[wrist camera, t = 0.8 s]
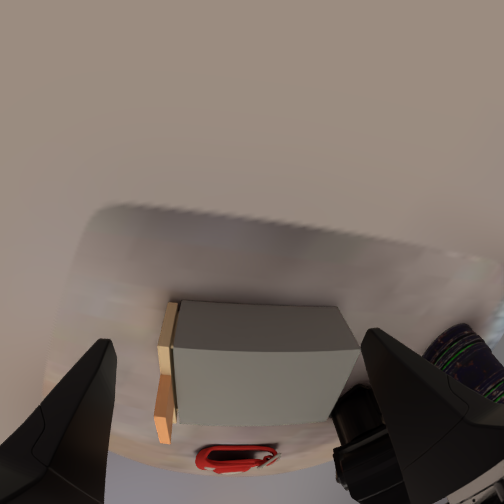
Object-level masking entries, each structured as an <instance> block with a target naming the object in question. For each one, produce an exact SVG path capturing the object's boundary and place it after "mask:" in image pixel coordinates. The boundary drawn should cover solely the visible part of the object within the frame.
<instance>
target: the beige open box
mask: <svg viewBox="0 0 504 504" xmlns="http://www.w3.org/2000/svg"><path fill="white" fill-rule="evenodd" d="M178 317H179V312H178V303H171V302H168V305H167V309H166V313H165V317H164V321H163V325H162V329H161V333H160V337H159V342H158V356H159V365H160V373H161V375H160V381H159V387H158V393H157V399H156V405H155V411H154V420H155V424H156V428H157V432H158V436H159V440H160V443H164V444H171V433H172V423H176V422H177V411H178V404H177V394H176V382H175V369H174V354H173V345H174V339H175V333H176V328H177V322H178Z"/></svg>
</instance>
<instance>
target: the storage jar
mask: <svg viewBox="0 0 504 504" xmlns="http://www.w3.org/2000/svg"><path fill="white" fill-rule="evenodd" d="M423 358H424V359H426V360H427V361H429V362H430V363H432V364H433V365H435V366H436V367H438V368H439V369H440V370H442V371H443V372H445V373H446V374H448V375H449V376H451V377H452V378H454V379H455V380H457V381H458V382H460V383H461V384H463V385H465V386H466V387H468V388H470V389H472V390H473V391H475V392H477V393H479V394H480V395H482V396H484V397H486V398H488V399H489V400H491V401H493V402H496V403H499V404H504V367H503V366H502V364H501V363H500V362H499V361H498V360H497V359H496V358H495V356H494V355H493V354H492V351H491V349H490V348H489V347H488V346H487V345H486V344H485V341H484V340H483V339H482V338H481V337H480V336H479V335H477V334H476V333H475V332H474V331H472V329H471V328H470V326H469V325H467V324H458V325H455V326H453V327H451V328H450V329H448V330H446V331H445V332H444V333H442V334H441V335H440V336H439V337H438V338H437V339H436V340H435V341H434V342H433V343H432V344H431V345H430V346H429V348H428V349H427V350H426V352H425V353H424V355H423Z"/></svg>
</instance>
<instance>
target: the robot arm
mask: <svg viewBox="0 0 504 504" xmlns="http://www.w3.org/2000/svg"><path fill="white" fill-rule="evenodd" d="M361 352H362V355H363V359H364V362H365V366H366V370H367V373H368V377H369V380H370V384H371V387H372V388H368V387H366V386H363V385H361V384H358V385H356V386H355V387H354V388H352V389H351V390H350V391H349V392H348V393H346V394H345V395H344V396H343V397H341V398H340V399H339V400H338V401H336V403H335V405H334V407H333V409H332V411H331V413H330V415H329V416H328V417H330V418H332V420H333V423H334V426H335V428H336V431H337V434H338V437H339V440H340V443H341V446H340V447H336V448H334V449H333V452H334V454H333V458H334V462H335V468H336V481H337V482H338V483H340V484H342V486H343V487H344V489H345V490H349V492H350V495H351V497H352V498H353V499H354V500H356V501H357V502H359V503H360V504H433V503H435V502H437V501H439V500H441V499H442V498H445V497H447V499H448V501H449V502H447V503H446V504H504V404H499V403H496V402H493V401H491V400H489V399H488V398H486V397H484V396H482V395H480V394H479V393H477V392H475V391H473V390H472V389H470V388H468V387H466V386H465V385H463V384H461V383H460V382H458V381H457V380H455V379H454V378H452V377H451V376H449V375H448V374H446V373H445V372H443V371H442V370H440V369H439V368H438V367H436V366H435V365H433V364H432V363H430V362H429V361H427V360H426V359H424V358H423V357H421V356H420V355H418V354H417V353H415V352H414V351H412V350H411V349H409V348H408V347H406V346H405V345H403V344H402V343H400V342H399V341H398V340H396V339H395V338H393V337H392V336H390V335H389V334H387V333H386V332H384V331H383V330H381V329H380V328H371V329H368V330H367V332H366V334H365V337H364V339H363V341H362V343H361ZM116 368H117V356H116V353H115V350H114V347H113V343H112V341H111V340H110V339H102V338H100V339H98V340H97V341H96V342H95V343H94V344H93V345H92V347H91V348H90V349H89V350H88V351H87V352H86V353H85V354H84V355H83V356H82V357H81V358H80V359H79V361H78V362H77V363H76V364H75V365H74V366H73V367H72V368H71V369H70V370H69V372H68V373H67V374H66V375H65V376H64V377H63V378H62V379H61V380H60V382H59V383H58V384H57V385H56V386H55V387H54V388H53V390H52V391H51V392H50V393H49V394H48V395H47V396H46V398H45V399H44V400H43V401H42V402H41V404H40V405H39V406H38V407H37V408H36V409H35V410H34V412H33V413H32V414H31V415H30V416H29V417H28V418H27V419H26V420H25V422H24V423H23V424H22V425H21V426H20V427H19V428H18V429H17V430H16V431H15V432H14V433H13V434H12V435H10V436H9V437H8V438H7V439H6V440H5V441H4V442H3V443H2V444H1V445H0V504H104V492H105V477H106V465H107V455H108V454H107V453H108V446H109V437H110V430H111V422H112V415H113V409H114V401H115V384H116Z"/></svg>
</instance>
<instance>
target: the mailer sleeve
mask: <svg viewBox="0 0 504 504" xmlns="http://www.w3.org/2000/svg"><path fill="white" fill-rule="evenodd" d="M360 351H361V348H360V346H359V344H358V342H357V341H356V339H355V337H354V335H353V333H352V332H351V330H350V328H349V326H348V325H347V323H346V321H345V319H344V318H343V316H342V314H341V313H340V311H339V309H338V307H311V306H276V305H252V304H232V303H216V302H201V301H187V300H182V301H181V306H180V312H179V317H178V322H177V328H176V333H175V339H174V345H173V354H174V369H175V382H176V394H177V404H178V414H179V423H180V424H190V425H206V426H276V425H292V424H305V423H315V422H324V421H326V420H327V418H328V416H329V415H330V413H331V411H332V409H333V407H334V405H335V403H336V401H337V399H338V398H339V396H340V394H341V392H342V390H343V388H344V386H345V384H346V381H347V379H348V377H349V375H350V373H351V371H352V369H353V367H354V365H355V362H356V360H357V358H358V356H359V353H360Z"/></svg>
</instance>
